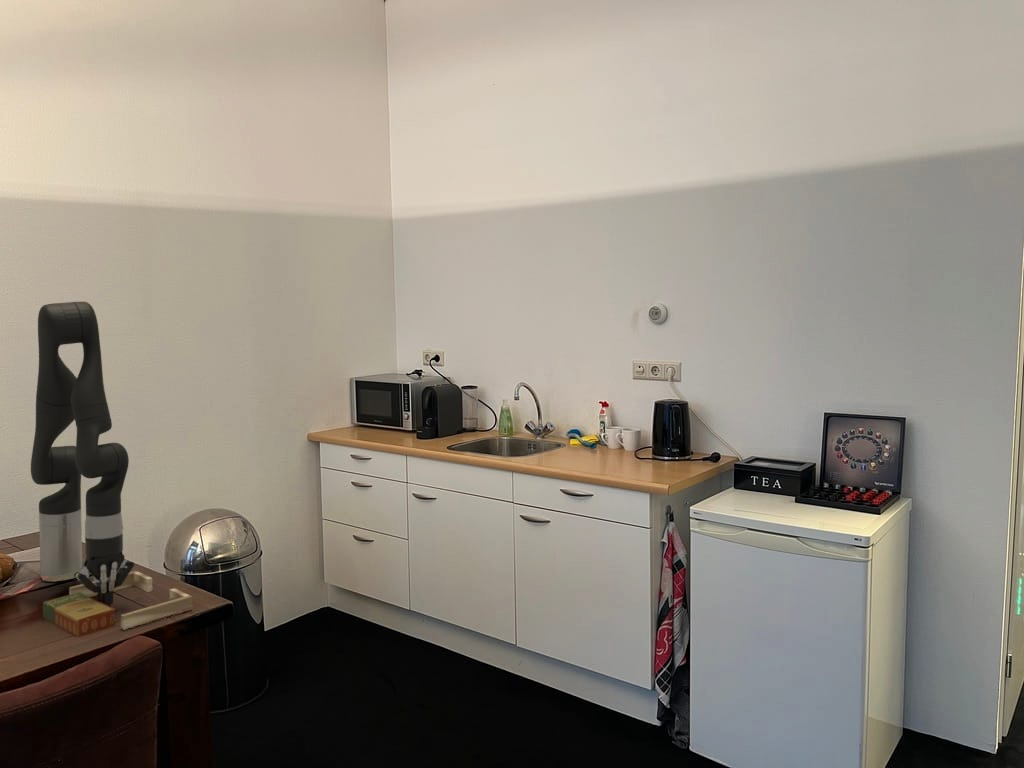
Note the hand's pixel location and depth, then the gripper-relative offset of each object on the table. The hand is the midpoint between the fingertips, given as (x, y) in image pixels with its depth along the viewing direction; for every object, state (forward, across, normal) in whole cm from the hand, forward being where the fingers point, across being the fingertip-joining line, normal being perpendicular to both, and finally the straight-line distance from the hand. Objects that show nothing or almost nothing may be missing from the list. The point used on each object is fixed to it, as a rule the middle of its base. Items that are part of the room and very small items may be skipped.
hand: (105, 607), depth 184 cm
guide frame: (+1, -6, 0) cm, 6 cm away
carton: (+2, +6, 0) cm, 7 cm away
